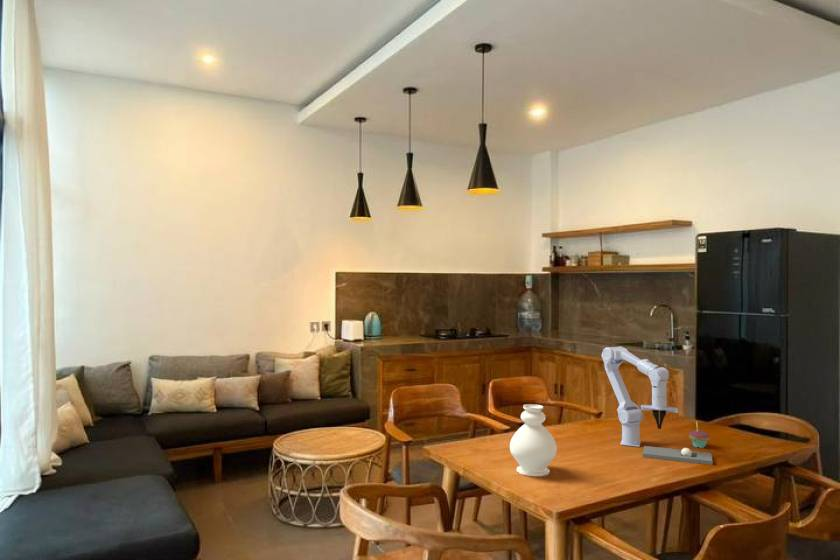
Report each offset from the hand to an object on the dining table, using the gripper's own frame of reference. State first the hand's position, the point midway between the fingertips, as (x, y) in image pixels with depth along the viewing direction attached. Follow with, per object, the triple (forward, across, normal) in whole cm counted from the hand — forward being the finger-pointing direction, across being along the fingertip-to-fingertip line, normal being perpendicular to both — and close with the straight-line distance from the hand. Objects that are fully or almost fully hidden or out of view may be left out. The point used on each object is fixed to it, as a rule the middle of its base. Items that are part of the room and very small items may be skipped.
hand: (659, 428), depth 250 cm
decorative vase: (+11, -44, -45) cm, 64 cm away
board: (+10, +7, -3) cm, 13 cm away
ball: (+8, +10, -3) cm, 14 cm away
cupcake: (+11, +16, +17) cm, 26 cm away
